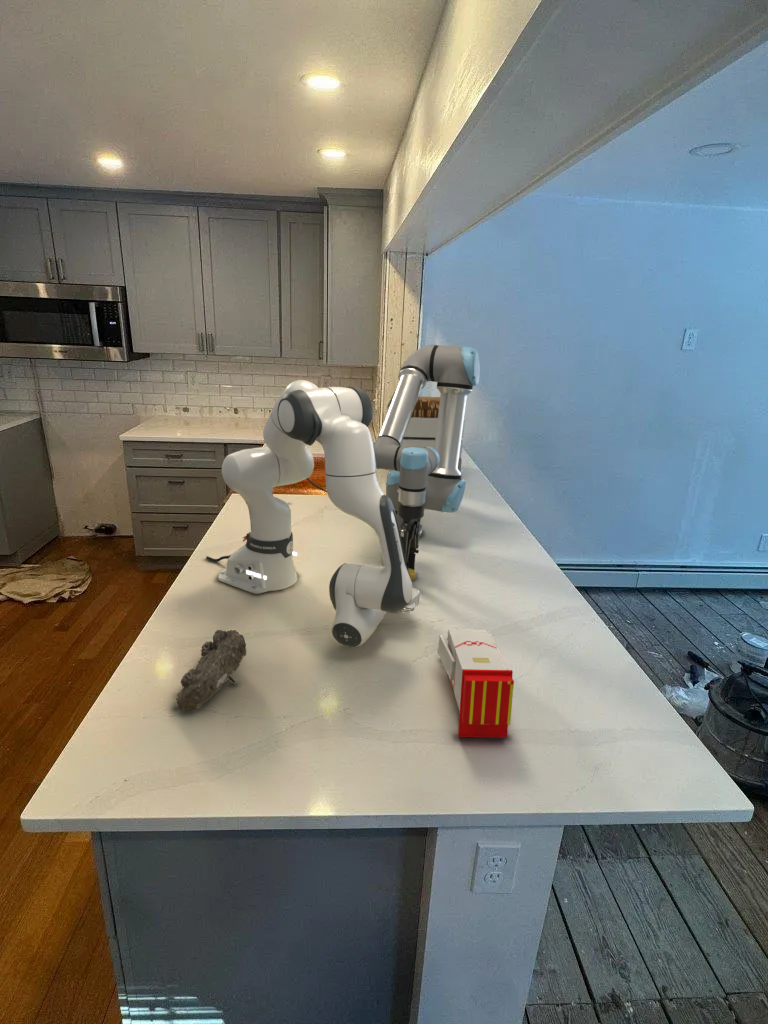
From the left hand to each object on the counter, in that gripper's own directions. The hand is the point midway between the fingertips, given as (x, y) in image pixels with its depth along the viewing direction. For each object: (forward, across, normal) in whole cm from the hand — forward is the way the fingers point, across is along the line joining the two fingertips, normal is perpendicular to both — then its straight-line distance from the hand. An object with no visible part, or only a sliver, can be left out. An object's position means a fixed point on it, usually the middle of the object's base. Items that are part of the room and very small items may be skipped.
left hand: (389, 580), depth 151 cm
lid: (+17, 0, +5) cm, 17 cm away
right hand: (+16, 0, +7) cm, 18 cm away
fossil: (-46, +22, +7) cm, 52 cm away
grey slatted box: (+127, +27, +7) cm, 130 cm away
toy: (-30, -28, +7) cm, 41 cm away
